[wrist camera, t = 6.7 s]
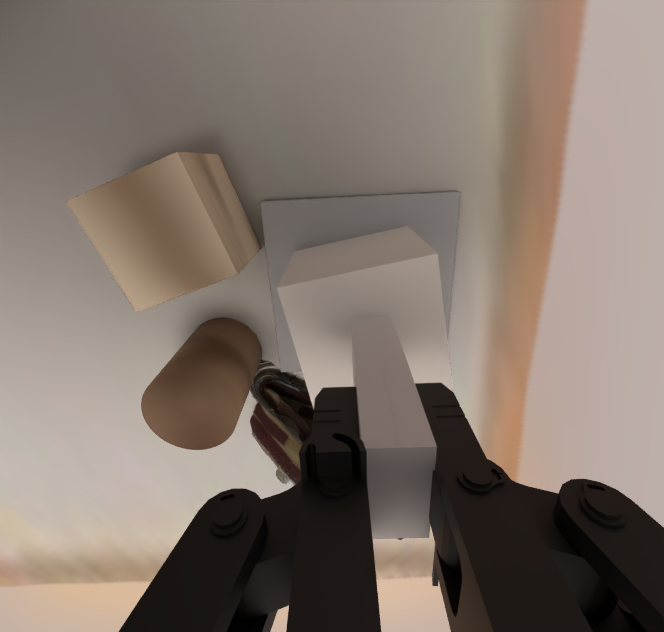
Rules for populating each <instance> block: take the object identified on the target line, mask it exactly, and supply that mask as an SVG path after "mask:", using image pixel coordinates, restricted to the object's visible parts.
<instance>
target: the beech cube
mask: <svg viewBox="0 0 664 632" xmlns="http://www.w3.org/2000/svg"><path fill="white" fill-rule="evenodd" d="M66 203H67V204H68V206H69V208H70V209H71V211H72V212H73V214H74V215H75V217H76V218H77V220H78V222H79V223H80V225H81V226H82V228H83V229H84V231H85V233H86V234H87V236H88V237H89V239H90V240H91V242H92V243H93V245H94V247H95V248H96V250H97V251H98V253H99V254H100V256H101V257H102V259H103V261H104V262H105V264H106V265H107V267H108V268H109V270H110V272H111V273H112V275H113V276H114V278H115V279H116V281H117V282H118V284H119V286H120V287H121V289H122V290H123V292H124V293H125V295H126V297H127V298H128V300H129V301H130V303H131V304H132V306H133V307H134V309H135V311H136V312H139V311H141V310H144V309H147V308H149V307H152V306H155V305H157V304H160V303H163V302H165V301H168V300H171V299H173V298H176V297H179V296H181V295H184V294H187V293H189V292H192V291H195V290H197V289H200V288H203V287H205V286H208V285H211V284H213V283H216V282H219V281H221V280H224V279H227V278H229V277H232V276H235V275H237V274H239V273H240V271H241V270H242V269H243V268H244V267H245V266H246V265H247V264H248V263H249V261H250V260H251V259H252V258H253V257H254V256H255V255H256V254H257V253H258V251H259V250H260V249H261V247H260V244H259V242H258V240H257V238H256V236H255V234H254V231H253V229H252V227H251V225H250V223H249V220H248V218H247V216H246V214H245V212H244V209H243V207H242V205H241V203H240V201H239V199H238V196H237V194H236V192H235V190H234V188H233V185H232V183H231V181H230V179H229V177H228V174H227V172H226V170H225V168H224V166H223V163H222V161H221V159H220V157H219V155H218V154H205V153H191V152H175V153H173V154H170V155H168V156H166V157H164V158H161V159H159V160H157V161H155V162H152V163H150V164H148V165H146V166H144V167H141V168H139V169H137V170H135V171H132V172H130V173H128V174H126V175H123V176H121V177H119V178H117V179H114V180H112V181H110V182H108V183H106V184H103V185H101V186H99V187H97V188H94V189H92V190H90V191H88V192H85V193H83V194H81V195H79V196H76V197H74V198H72V199H70V200H68V201H66Z"/></svg>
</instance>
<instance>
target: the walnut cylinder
mask: <svg viewBox="0 0 664 632" xmlns="http://www.w3.org/2000/svg"><path fill="white" fill-rule="evenodd" d="M261 358H262V349H261V345H260V342H259V340H258V338H257V336H256V335H255V334H254V332H253V331H252V330H251V329H250V328H248V327H247V326H246V325H244V324H242V323H240V322H238V321H236V320H232V319H227V318H217V319H212V320H209V321H206V322H205V323H203V324H201V325H200V326H199V327H198V328H197V329H196V330H195V331H194V333H193V334H192V335H191V336H190V337H189V339H188V340H187V341H186V342H185V343H184V344H183V346H182V347H181V348H180V349H179V350H178V352H177V353H176V354H175V355H174V356H173V357H172V359H171V360H170V361H169V362H168V363H167V365H166V366H165V367H164V368H163V369H162V370H161V372H160V373H159V374H158V375H157V376H156V378H155V379H154V380H153V381H152V382H151V384H150V385H149V386H148V387H147V389H146V390H145V392H144V394H143V397H142V402H141V408H142V413H143V416H144V419H145V421H146V423H147V424H148V426H149V427H150V428H151V430H152V431H153V432H154V433H155V434H156V435H158V436H159V437H160V438H161V439H163V440H164V441H166V442H168V443H170V444H172V445H175V446H177V447H181V448H185V449H191V450H203V449H209V448H213V447H216V446H218V445H220V444H222V443H223V442H225V441H226V440H227V439H228V438H229V437H230V436H231V435H232V433H233V431H234V429H235V427H236V424H237V421H238V419H239V416H240V414H241V411H242V408H243V406H244V403H245V401H246V398H247V395H248V393H249V390H250V388H251V385H252V382H253V380H254V377H255V375H256V372H257V369H258V367H259V364H260V362H261Z"/></svg>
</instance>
